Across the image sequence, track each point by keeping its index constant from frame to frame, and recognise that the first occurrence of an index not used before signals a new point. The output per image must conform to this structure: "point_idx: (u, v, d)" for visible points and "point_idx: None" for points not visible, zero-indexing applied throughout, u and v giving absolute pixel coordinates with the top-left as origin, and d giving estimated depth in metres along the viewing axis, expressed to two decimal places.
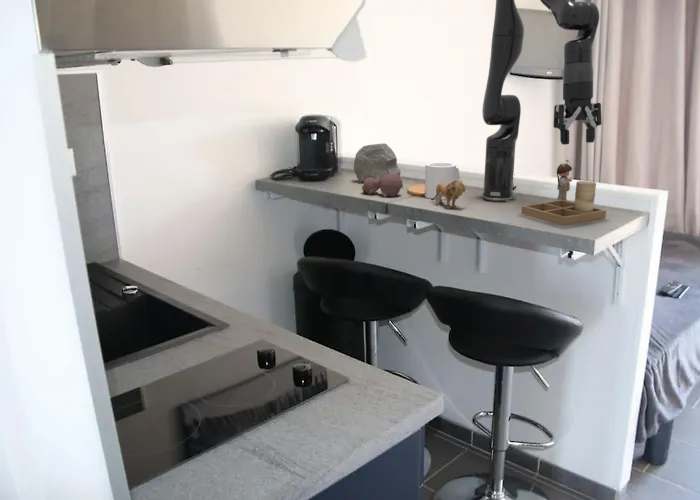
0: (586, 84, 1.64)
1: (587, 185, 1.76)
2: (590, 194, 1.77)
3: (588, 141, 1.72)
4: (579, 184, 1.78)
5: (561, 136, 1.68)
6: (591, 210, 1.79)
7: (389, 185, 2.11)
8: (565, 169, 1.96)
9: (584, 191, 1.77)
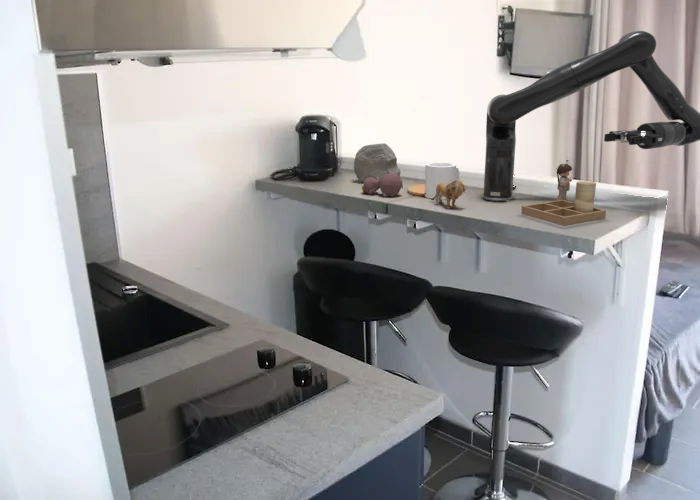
0: None
1: (587, 185, 1.76)
2: (590, 194, 1.77)
3: (607, 137, 1.84)
4: (579, 184, 1.78)
5: (638, 139, 1.77)
6: (591, 210, 1.79)
7: (389, 185, 2.11)
8: (565, 169, 1.96)
9: (584, 191, 1.77)
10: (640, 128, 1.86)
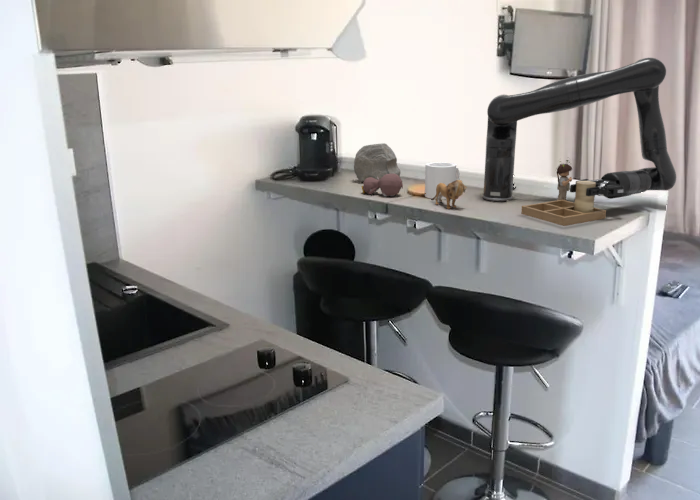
0: None
1: (587, 185, 1.76)
2: None
3: (572, 188, 1.80)
4: (579, 184, 1.78)
5: (595, 191, 1.76)
6: (591, 210, 1.79)
7: (389, 185, 2.11)
8: (565, 169, 1.96)
9: (584, 191, 1.77)
10: (605, 177, 1.84)
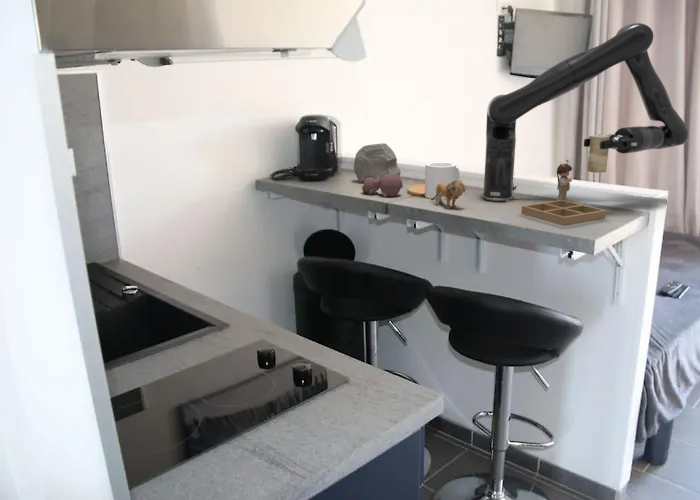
0: None
1: (601, 138, 1.78)
2: None
3: (586, 142, 1.82)
4: (593, 137, 1.80)
5: (609, 144, 1.78)
6: (605, 163, 1.81)
7: (389, 185, 2.11)
8: (565, 169, 1.96)
9: (598, 144, 1.79)
10: (618, 132, 1.86)
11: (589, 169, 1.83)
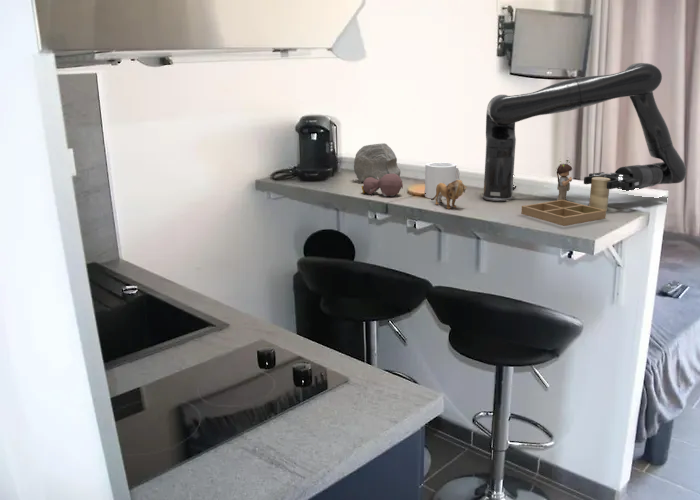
0: None
1: (602, 181, 1.85)
2: (604, 189, 1.86)
3: (586, 180, 1.91)
4: (594, 180, 1.87)
5: (616, 184, 1.84)
6: (605, 205, 1.88)
7: (389, 185, 2.11)
8: (565, 169, 1.96)
9: (599, 186, 1.86)
10: (619, 171, 1.93)
11: None
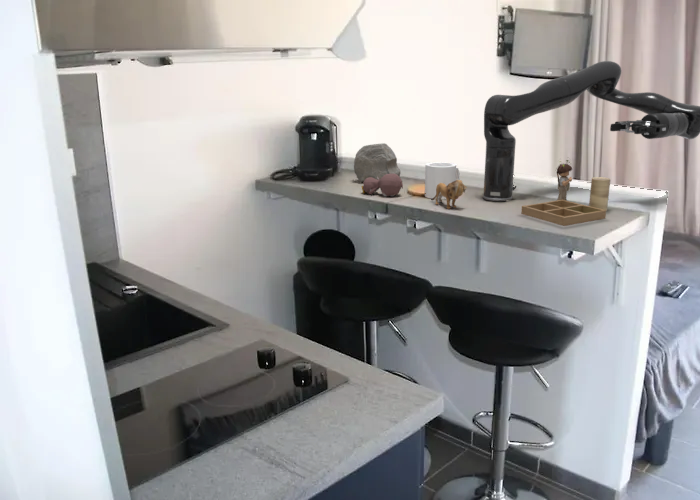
0: None
1: (602, 181, 1.85)
2: (604, 189, 1.86)
3: (613, 127, 1.91)
4: (594, 180, 1.87)
5: (643, 129, 1.84)
6: (605, 205, 1.88)
7: (389, 185, 2.11)
8: (565, 169, 1.96)
9: (599, 186, 1.86)
10: (645, 118, 1.94)
11: None
